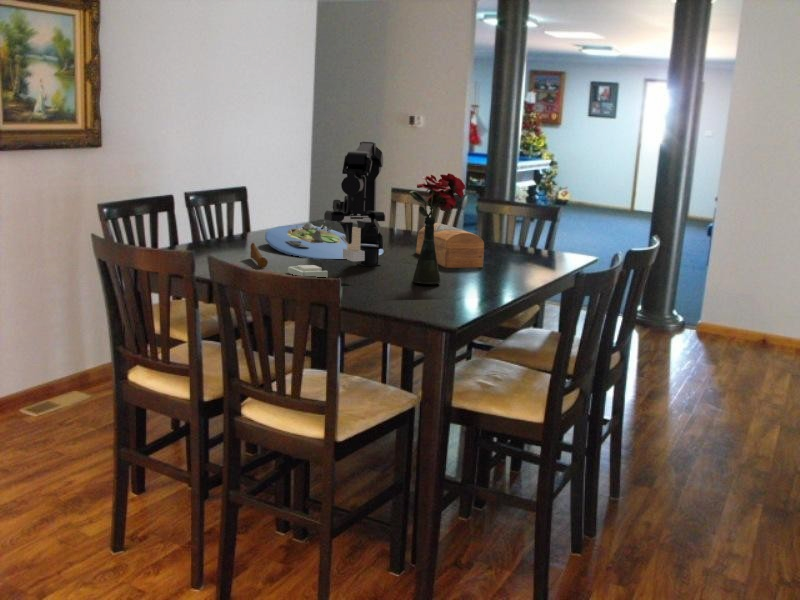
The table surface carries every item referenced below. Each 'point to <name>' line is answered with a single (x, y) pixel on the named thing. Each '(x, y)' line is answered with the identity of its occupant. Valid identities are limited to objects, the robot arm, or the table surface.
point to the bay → (307, 272)
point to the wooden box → (454, 247)
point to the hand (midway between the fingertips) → (353, 243)
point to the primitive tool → (258, 256)
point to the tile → (308, 268)
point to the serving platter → (308, 241)
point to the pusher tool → (354, 247)
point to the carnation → (446, 201)
